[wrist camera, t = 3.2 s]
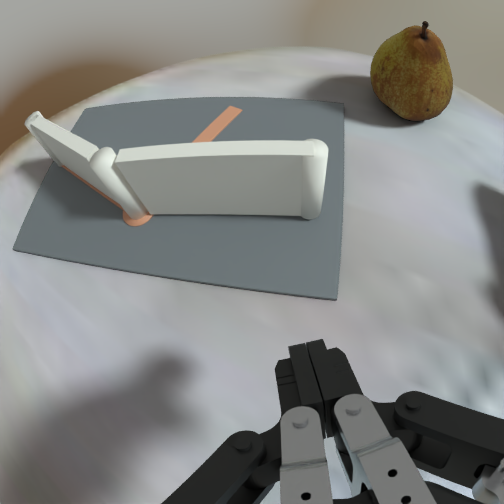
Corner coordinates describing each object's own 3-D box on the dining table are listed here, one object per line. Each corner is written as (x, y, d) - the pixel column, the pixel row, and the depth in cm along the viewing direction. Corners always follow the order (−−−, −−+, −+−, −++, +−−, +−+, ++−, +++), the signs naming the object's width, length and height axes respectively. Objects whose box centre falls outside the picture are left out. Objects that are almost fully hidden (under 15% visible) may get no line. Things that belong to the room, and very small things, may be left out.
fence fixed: (155, 208, 27) (118, 151, 20) (140, 226, 27) (98, 172, 20) (68, 153, 33) (35, 109, 26) (56, 165, 32) (22, 123, 25)
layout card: (14, 250, 28) (11, 248, 27) (86, 110, 36) (85, 108, 35) (336, 300, 22) (337, 298, 22) (343, 106, 30) (343, 102, 30)
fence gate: (149, 217, 26) (113, 165, 20) (154, 199, 27) (121, 146, 21) (321, 220, 24) (329, 159, 18) (320, 200, 25) (327, 138, 19)
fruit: (401, 75, 32) (417, -7, 21) (454, 121, 29) (487, 35, 18) (349, 91, 31) (358, -4, 21) (405, 142, 28) (436, 40, 17)
